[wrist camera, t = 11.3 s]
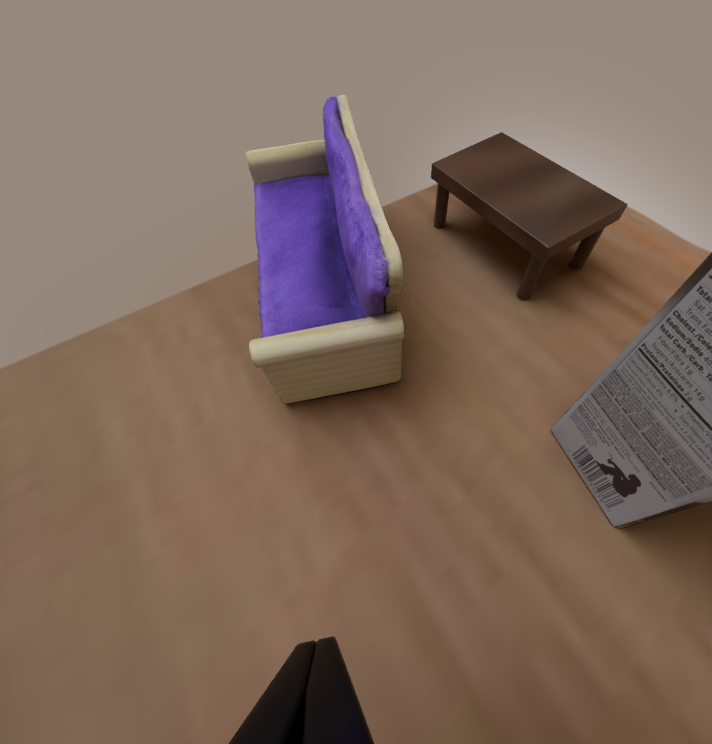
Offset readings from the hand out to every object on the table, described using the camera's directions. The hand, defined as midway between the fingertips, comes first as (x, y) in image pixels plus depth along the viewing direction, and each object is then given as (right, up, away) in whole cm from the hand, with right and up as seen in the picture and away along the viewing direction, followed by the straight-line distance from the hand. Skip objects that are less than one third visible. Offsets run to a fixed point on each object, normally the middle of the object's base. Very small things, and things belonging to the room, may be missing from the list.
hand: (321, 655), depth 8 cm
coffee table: (+13, +17, +24) cm, 32 cm away
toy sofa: (-2, +13, +23) cm, 26 cm away
